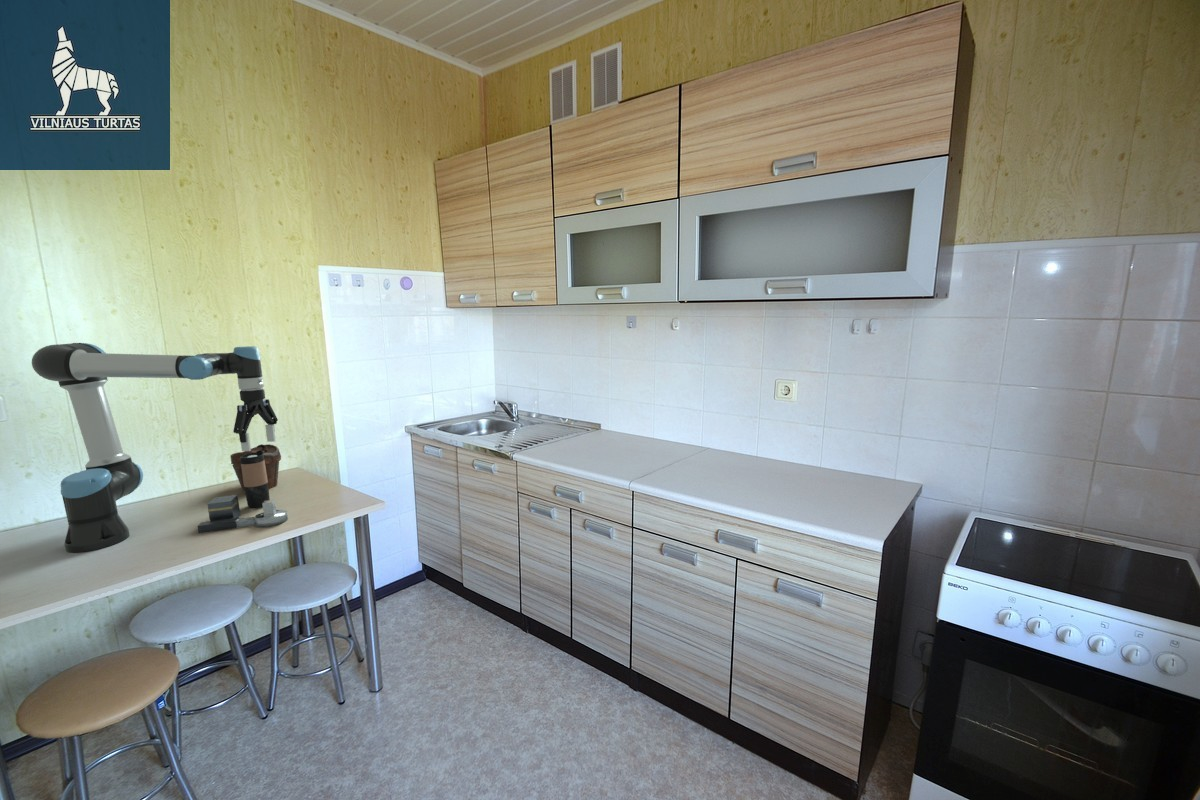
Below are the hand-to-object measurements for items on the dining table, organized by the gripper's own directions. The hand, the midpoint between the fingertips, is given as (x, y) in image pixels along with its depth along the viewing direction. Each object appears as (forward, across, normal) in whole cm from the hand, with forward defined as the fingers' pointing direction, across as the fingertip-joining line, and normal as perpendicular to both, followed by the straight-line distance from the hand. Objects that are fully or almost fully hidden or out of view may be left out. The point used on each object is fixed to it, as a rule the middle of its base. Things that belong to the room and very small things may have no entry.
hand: (259, 446), depth 189 cm
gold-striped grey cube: (+25, -10, +8) cm, 28 cm away
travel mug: (+25, +4, +6) cm, 26 cm away
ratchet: (+25, -15, -2) cm, 29 cm away
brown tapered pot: (+25, +27, +21) cm, 42 cm away
